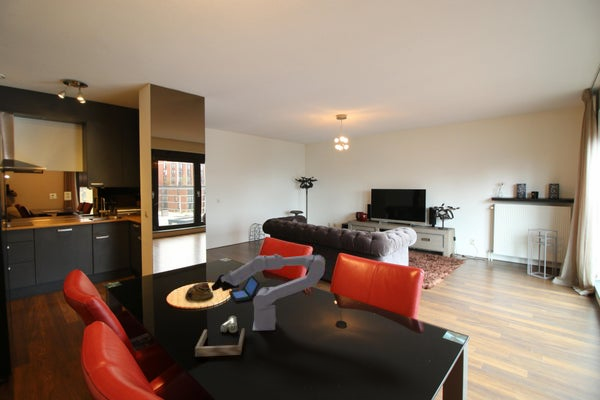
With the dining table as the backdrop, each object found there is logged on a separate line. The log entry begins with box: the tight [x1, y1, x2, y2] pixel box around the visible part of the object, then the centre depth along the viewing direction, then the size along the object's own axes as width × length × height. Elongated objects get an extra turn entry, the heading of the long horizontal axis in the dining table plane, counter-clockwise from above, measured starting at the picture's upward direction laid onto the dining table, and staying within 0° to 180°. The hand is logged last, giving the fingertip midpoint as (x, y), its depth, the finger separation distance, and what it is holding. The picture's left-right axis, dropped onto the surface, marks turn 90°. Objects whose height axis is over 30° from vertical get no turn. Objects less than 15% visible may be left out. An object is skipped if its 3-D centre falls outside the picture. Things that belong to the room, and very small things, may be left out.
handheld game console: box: [228, 275, 261, 304], centre depth 153 cm, size 16×13×9 cm
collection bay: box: [194, 327, 246, 358], centre depth 106 cm, size 16×13×3 cm
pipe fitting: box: [220, 315, 238, 334], centre depth 118 cm, size 8×4×7 cm
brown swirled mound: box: [184, 282, 214, 302], centre depth 152 cm, size 13×15×8 cm
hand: (217, 289), depth 122 cm, fingers open, 7 cm apart
